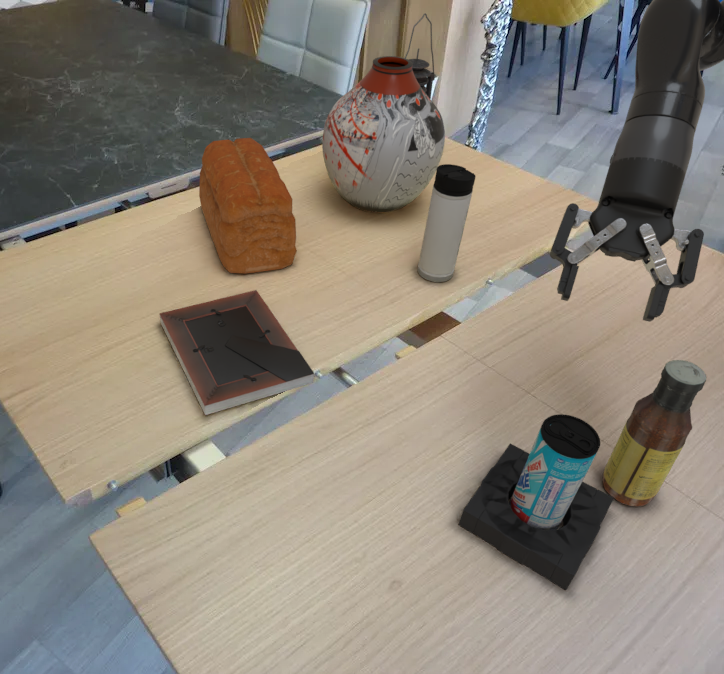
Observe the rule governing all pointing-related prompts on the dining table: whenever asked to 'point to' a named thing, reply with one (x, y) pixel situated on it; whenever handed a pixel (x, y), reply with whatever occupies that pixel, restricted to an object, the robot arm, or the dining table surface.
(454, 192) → the travel mug
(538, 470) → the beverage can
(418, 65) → the lantern
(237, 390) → the picture frame
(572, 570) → the pad
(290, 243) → the bread
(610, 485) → the sauce bottle
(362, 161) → the vase
